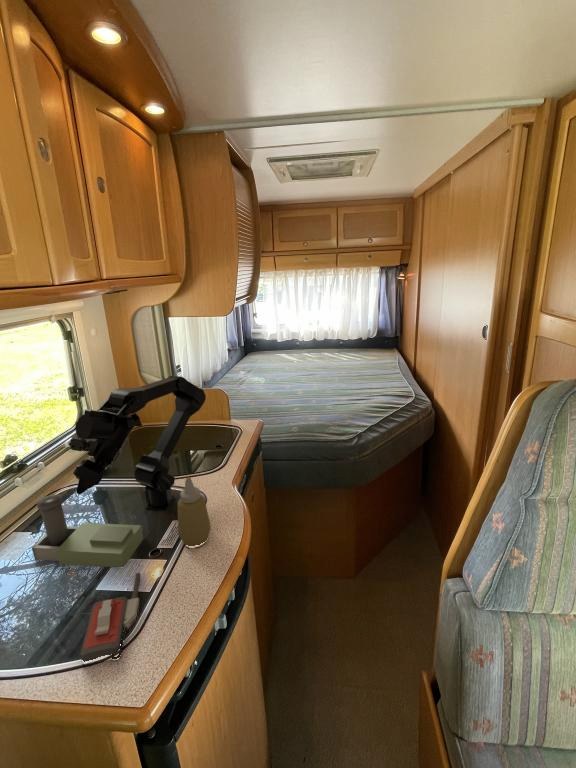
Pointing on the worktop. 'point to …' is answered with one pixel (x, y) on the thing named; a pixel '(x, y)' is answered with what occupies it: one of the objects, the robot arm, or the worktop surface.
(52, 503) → the grey domed pawn
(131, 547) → the green stepped slab
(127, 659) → the worktop surface
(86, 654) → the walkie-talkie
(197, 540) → the squeeze bottle
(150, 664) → the worktop surface
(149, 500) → the robot arm
